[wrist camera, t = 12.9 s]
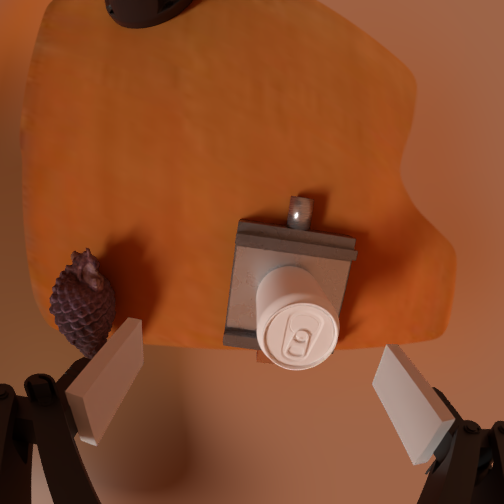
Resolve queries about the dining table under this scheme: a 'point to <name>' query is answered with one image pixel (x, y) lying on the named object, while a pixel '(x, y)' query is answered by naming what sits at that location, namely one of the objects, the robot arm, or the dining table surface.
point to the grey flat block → (280, 255)
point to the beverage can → (295, 319)
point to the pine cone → (83, 304)
